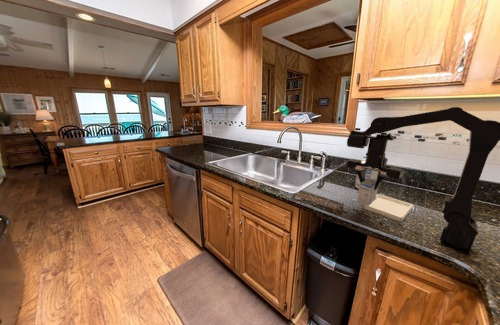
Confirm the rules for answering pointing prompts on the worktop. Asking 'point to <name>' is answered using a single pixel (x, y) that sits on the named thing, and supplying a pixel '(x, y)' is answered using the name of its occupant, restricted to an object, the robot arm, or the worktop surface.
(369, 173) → the supplement tub
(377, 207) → the dish
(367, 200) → the medicine box
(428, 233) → the worktop surface
